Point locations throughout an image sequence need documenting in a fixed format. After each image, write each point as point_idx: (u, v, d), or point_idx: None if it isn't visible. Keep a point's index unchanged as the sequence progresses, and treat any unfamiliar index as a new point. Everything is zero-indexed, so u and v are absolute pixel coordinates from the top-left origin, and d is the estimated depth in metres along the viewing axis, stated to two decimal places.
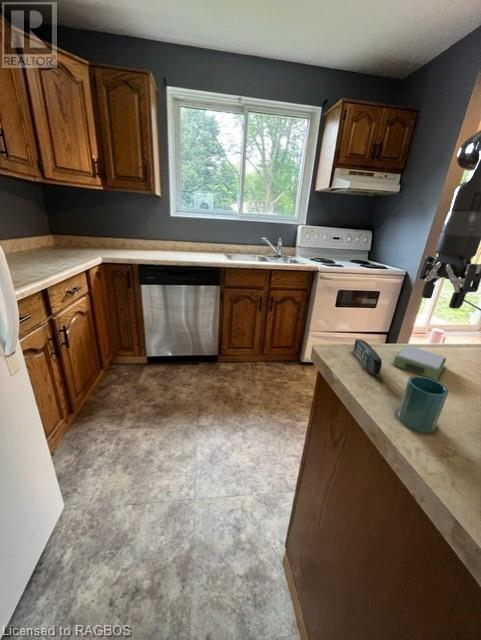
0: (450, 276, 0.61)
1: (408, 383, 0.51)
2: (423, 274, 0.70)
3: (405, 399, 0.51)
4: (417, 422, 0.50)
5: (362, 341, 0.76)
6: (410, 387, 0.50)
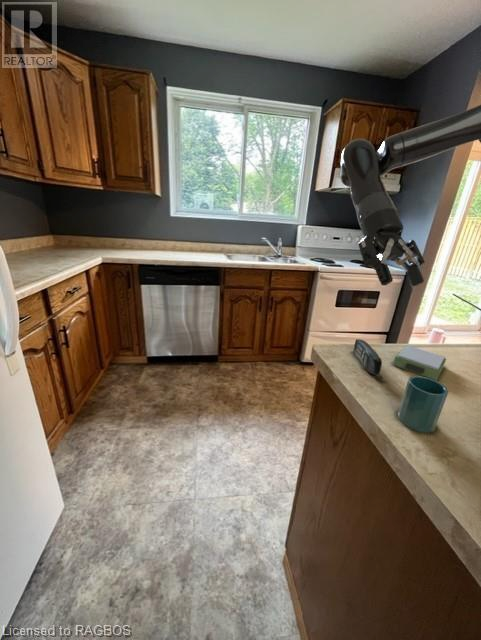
0: None
1: (408, 383, 0.51)
2: (410, 263, 0.60)
3: (405, 399, 0.51)
4: (417, 422, 0.50)
5: (362, 341, 0.76)
6: (410, 387, 0.50)
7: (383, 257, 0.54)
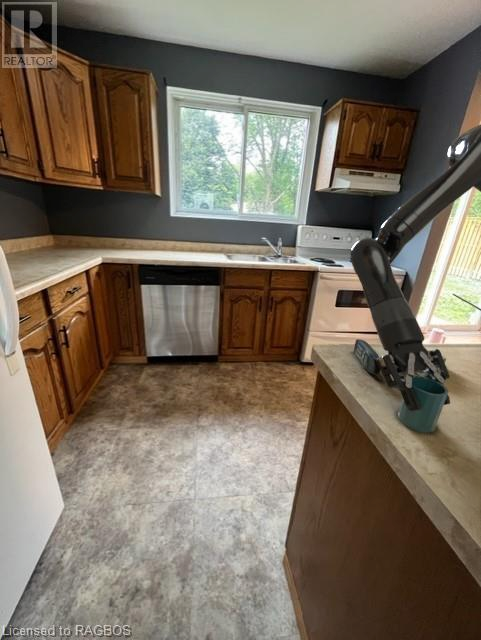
0: None
1: None
2: None
3: None
4: (417, 422, 0.50)
5: (362, 341, 0.76)
6: None
7: (408, 379, 0.50)
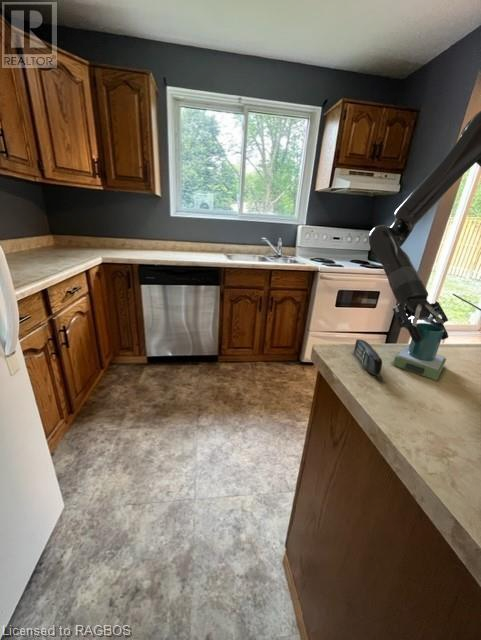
0: None
1: None
2: None
3: None
4: (422, 353, 0.70)
5: (363, 341, 0.76)
6: None
7: (414, 320, 0.70)
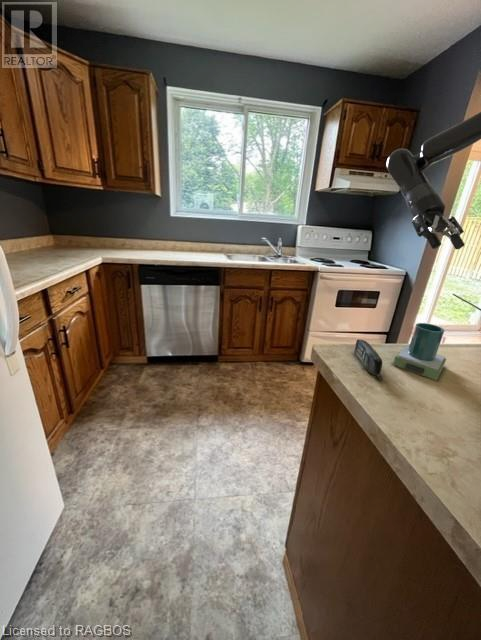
0: None
1: (415, 326, 0.71)
2: (452, 234, 0.79)
3: (413, 338, 0.71)
4: (422, 353, 0.70)
5: (363, 341, 0.76)
6: (417, 329, 0.70)
7: (432, 228, 0.74)
